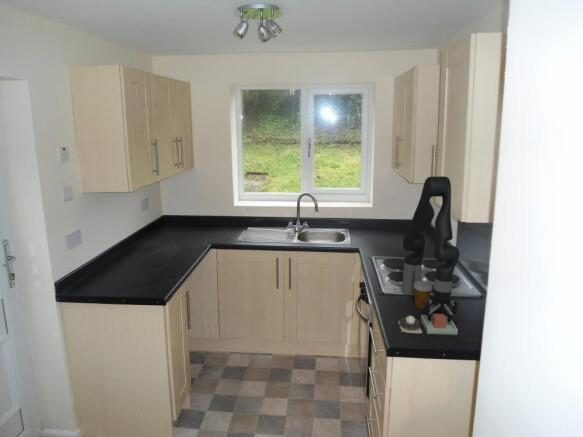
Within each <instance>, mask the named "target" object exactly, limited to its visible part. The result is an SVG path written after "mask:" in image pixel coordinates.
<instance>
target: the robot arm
mask: <svg viewBox="0 0 583 437" xmlns="http://www.w3.org/2000/svg"><path fill="white" fill-rule="evenodd" d="M451 184H452V183H451V181H450V178H449V177H448V176H442V175H441V176H428V177H427V178H425V180H424V182H423V186H422V190H421V194H420V198H419V201H418V203H417V205H416V208H415V210H414V213H413V216H412V219H411V222H410V224H409V227H408V229H407V230H406V232H405V234H404V237H403V240H402V247H403V249H404V250H405V251H407V252H412V253H411V254H407V255H406V256H405V257H404V261H403V262H404V263H403V274H402V287H401V292H402V293H403V294H404V293H405V294H404V295H406V296H414V286H413V285H414V283H415V282H417V281H422V280H421V279H422V270H423V268H422V267H423V260H424V255H425V254H424V253H425V248H426V238H425V237H426V236H425V235H424V234H423V233H422V232H423V231H425V230H426V229H427V228H428V227H430V226H431V224H432V222H433V219H434V217H435V209H434V207H433V205H432V203H431V201H430V200H431V198H433V197H435V198H436V197H441V199H442V200H441V201H442V204H441V207H440V209H439V211H438V213H437V215H436V217H435V221H434V230H435V246H434V250H433V257H434V259H435V260H436V261H437V262H439V263H444V264H442V265H441V264H440V265H438V266H437V267H436V270H435V271H436V273H435V280H434V283H433V284H434V285H433V294H432V299H429V300H428V299H425V305H424V309H423V310H424V312H425V314H426V315H427V318H428V320H429V321H431V317H432V315H433V313H434V312H435V311H436V310H438V311H440V310H442V311H445V310H446V311H447V315H446V316H447V321H448V322H450V321H451V320H452V317H453V315H454V314H455V315H457V313H458V312H457V311H458V301H456V299H453V300H451V297H452V290H453V274H454V270H455V268H456V266H457V264H458V262H459V259H460V250H459V248H458V247H456V246H455V245H444V243H445V242H446V243H447V242H449V241H451V240H453V237H454V236H453V227H452V221H451V220H452V217H451V215H452V211H451V210H452V207H451V206H452V185H451ZM450 305H452V309H450V307H449V306H450ZM452 321H453V320H452Z"/></svg>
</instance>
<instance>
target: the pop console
mask: <svg viewBox="0 0 583 437" xmlns="http://www.w3.org/2000/svg"><path fill="white" fill-rule="evenodd" d="M406 317H407V316H404V317H401V319H400V320H398V321H397V323H398V326H400V327H399V329H401V330H400V332H401V333H402V332H405V334H406V333H408V334H423V330H422V329H421V320H419V319H418V318H415V324H409V323H406Z"/></svg>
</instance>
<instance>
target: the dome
mask: <svg viewBox="0 0 583 437" xmlns="http://www.w3.org/2000/svg"><path fill="white" fill-rule="evenodd" d="M405 317H406V323H409V324H415V319H416V318H415V317H414V316H413V315H407V316H405Z"/></svg>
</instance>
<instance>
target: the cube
mask: <svg viewBox="0 0 583 437" xmlns="http://www.w3.org/2000/svg"><path fill="white" fill-rule="evenodd" d="M445 316H446V315H445V314H444V313H434V312H432V325H433V327H434V328H441V329H445V328H446V320H447V319H446V317H445Z"/></svg>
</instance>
